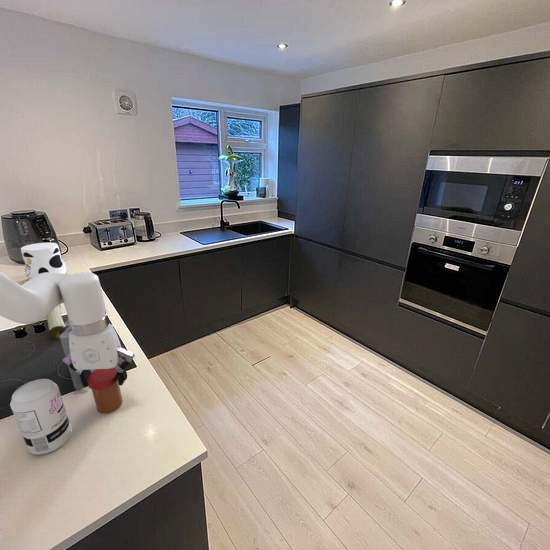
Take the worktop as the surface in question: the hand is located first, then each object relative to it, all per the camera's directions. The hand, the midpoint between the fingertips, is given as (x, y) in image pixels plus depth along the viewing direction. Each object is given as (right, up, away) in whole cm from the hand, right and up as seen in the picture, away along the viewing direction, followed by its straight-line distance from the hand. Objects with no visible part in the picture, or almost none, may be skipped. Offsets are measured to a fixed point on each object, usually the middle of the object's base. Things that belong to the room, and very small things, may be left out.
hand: (105, 382), depth 74 cm
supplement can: (-8, -11, -7) cm, 16 cm away
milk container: (-79, +26, +81) cm, 116 cm away
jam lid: (0, +2, -1) cm, 2 cm away
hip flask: (-14, -2, +15) cm, 20 cm away
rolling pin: (-42, +8, +39) cm, 58 cm away
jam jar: (0, -7, +3) cm, 8 cm away
